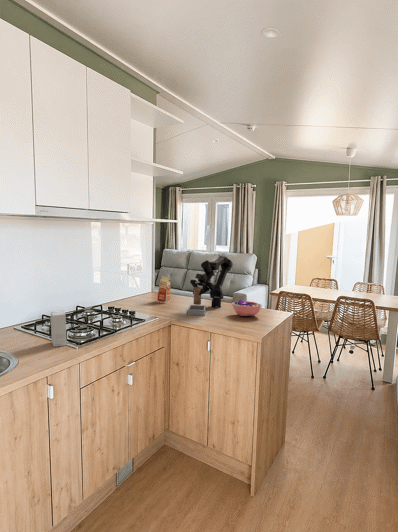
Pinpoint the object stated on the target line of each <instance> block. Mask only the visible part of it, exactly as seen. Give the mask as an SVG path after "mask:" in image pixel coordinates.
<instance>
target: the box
mask: <svg viewBox="0 0 398 532" xmlns="http://www.w3.org/2000/svg"><path fill="white" fill-rule="evenodd" d="M206 307H207V306H206V305H202V304H200V305H195V304H190V305H189V306H188V309H187V316H199V317H200V316H201V317H204V316H205V314H206V310H207V309H206Z"/></svg>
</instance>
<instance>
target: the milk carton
mask: <svg viewBox="0 0 398 532" xmlns="http://www.w3.org/2000/svg"><path fill="white" fill-rule="evenodd" d="M171 287H172V286H171V277H167V276H164V275H161V279H160V281H159V285H158V290H157V295H156V296H157V297H156V303H159V302H160V304H168V303H171V299H172V293H171Z"/></svg>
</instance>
